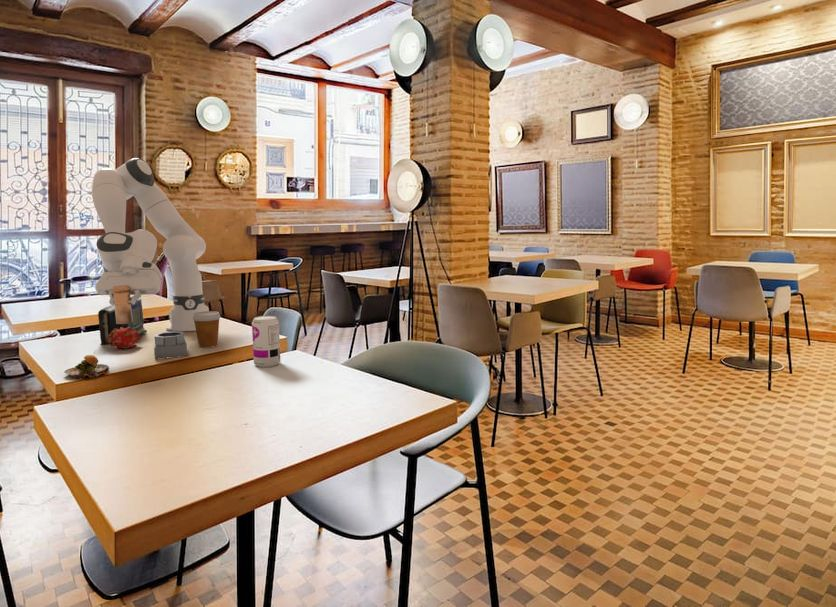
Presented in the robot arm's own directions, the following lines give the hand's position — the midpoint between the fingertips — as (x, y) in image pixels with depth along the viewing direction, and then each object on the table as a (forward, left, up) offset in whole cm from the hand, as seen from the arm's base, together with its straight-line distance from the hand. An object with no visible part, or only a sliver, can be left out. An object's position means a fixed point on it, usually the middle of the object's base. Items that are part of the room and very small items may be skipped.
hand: (121, 303), depth 191 cm
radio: (-37, -1, -19) cm, 42 cm away
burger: (+13, -10, -19) cm, 26 cm away
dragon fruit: (-20, 0, -19) cm, 28 cm away
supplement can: (+26, +41, -19) cm, 52 cm away
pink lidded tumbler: (0, 0, -6) cm, 6 cm away
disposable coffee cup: (-10, +27, -19) cm, 34 cm away
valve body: (-5, +14, -19) cm, 24 cm away
